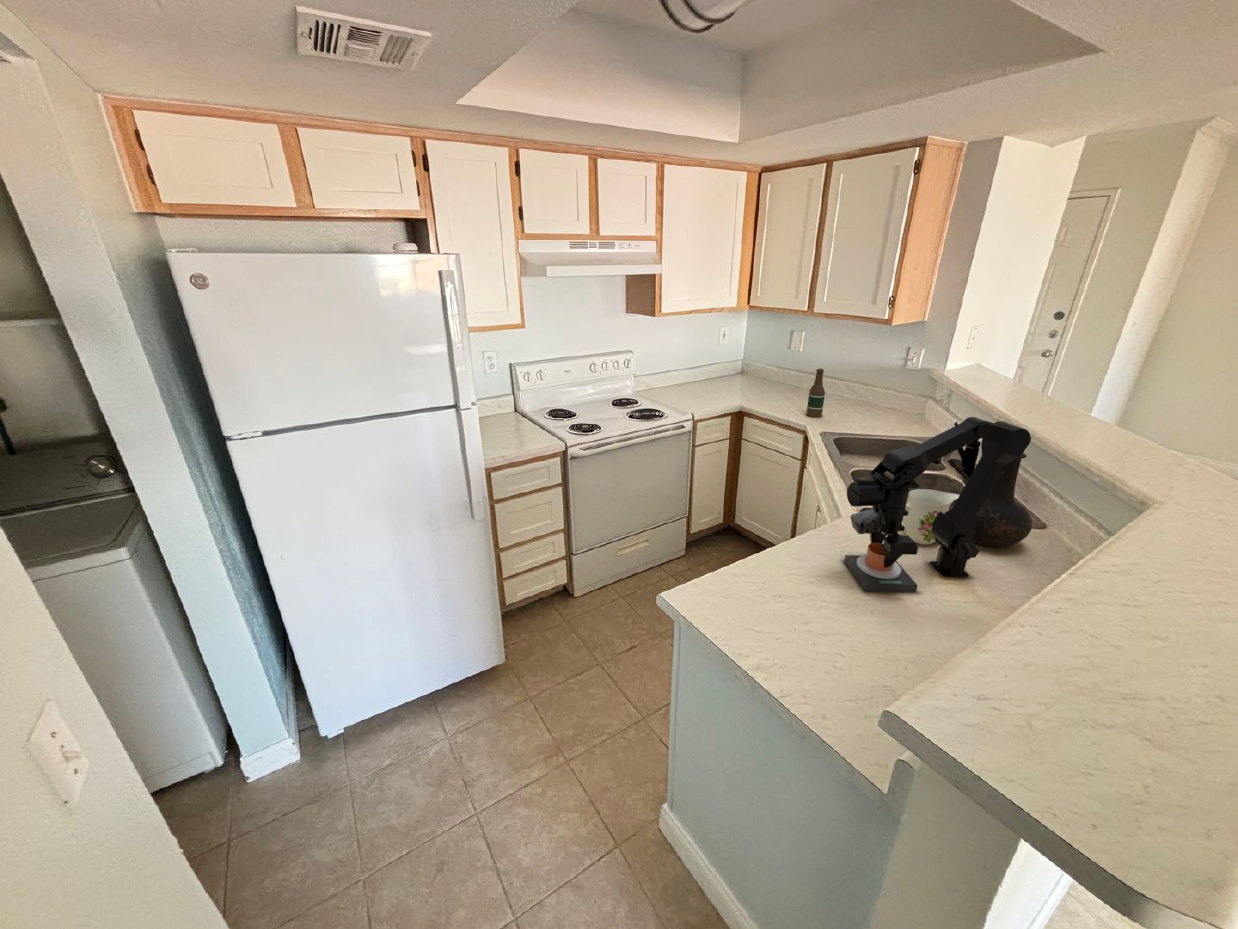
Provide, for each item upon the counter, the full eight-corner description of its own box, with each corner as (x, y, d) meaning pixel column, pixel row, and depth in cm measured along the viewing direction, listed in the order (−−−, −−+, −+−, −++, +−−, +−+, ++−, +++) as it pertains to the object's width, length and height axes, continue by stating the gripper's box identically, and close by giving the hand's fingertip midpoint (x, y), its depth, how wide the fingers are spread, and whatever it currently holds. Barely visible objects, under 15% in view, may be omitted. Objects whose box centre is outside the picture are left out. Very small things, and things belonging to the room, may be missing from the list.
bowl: (897, 572, 123) (901, 556, 121) (871, 572, 123) (874, 556, 121) (885, 558, 129) (889, 542, 127) (860, 557, 129) (863, 542, 127)
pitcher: (876, 528, 149) (884, 486, 143) (939, 529, 147) (950, 487, 142) (892, 547, 138) (902, 503, 133) (960, 549, 137) (972, 504, 132)
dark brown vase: (933, 531, 146) (956, 441, 136) (973, 519, 153) (998, 432, 143) (997, 562, 131) (1029, 463, 121) (1038, 547, 138) (1071, 451, 128)
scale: (915, 592, 120) (918, 582, 119) (864, 591, 120) (866, 581, 119) (890, 562, 132) (892, 553, 131) (844, 561, 132) (845, 552, 131)
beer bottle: (819, 418, 253) (826, 371, 244) (803, 416, 258) (809, 369, 249) (823, 415, 259) (830, 368, 250) (808, 412, 264) (814, 367, 255)
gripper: (843, 487, 128) (833, 540, 134) (874, 522, 111) (862, 581, 117) (887, 487, 128) (876, 540, 134) (926, 522, 111) (911, 581, 116)
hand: (880, 559), depth 125 cm, fingers closed on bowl, 6 cm apart
